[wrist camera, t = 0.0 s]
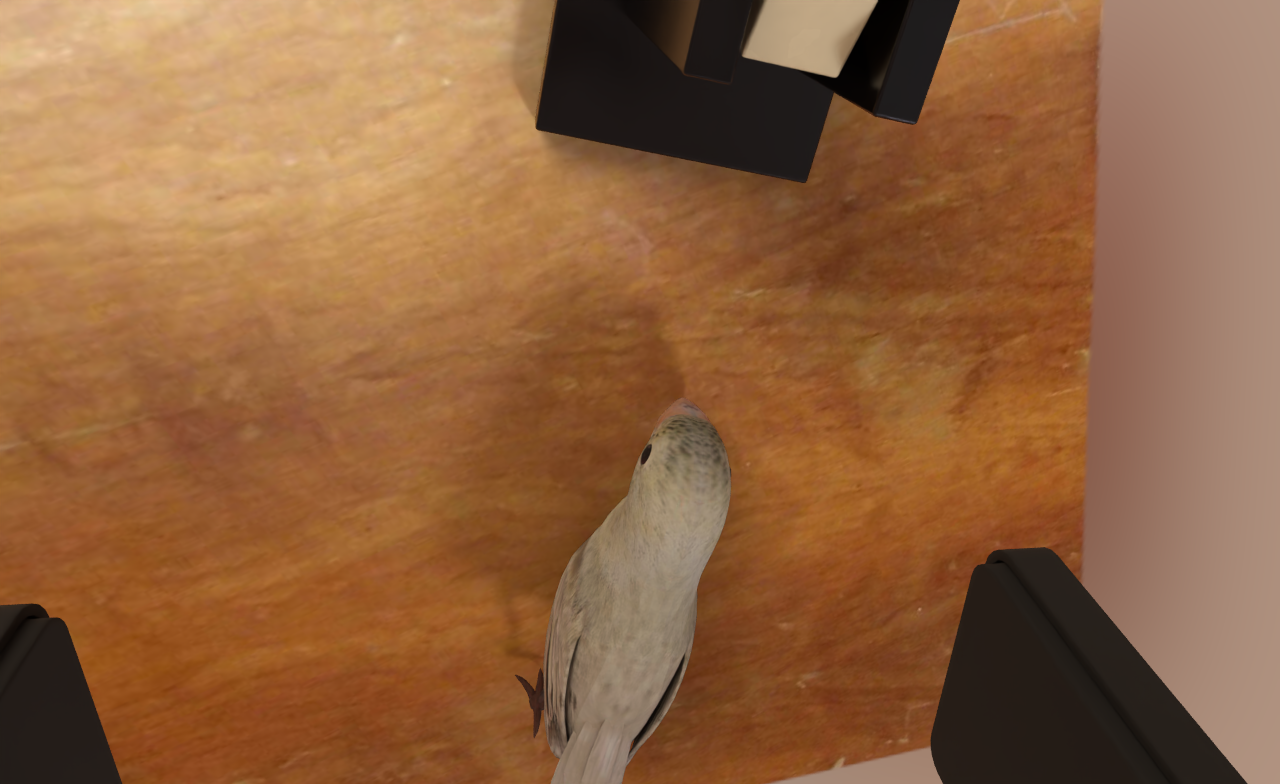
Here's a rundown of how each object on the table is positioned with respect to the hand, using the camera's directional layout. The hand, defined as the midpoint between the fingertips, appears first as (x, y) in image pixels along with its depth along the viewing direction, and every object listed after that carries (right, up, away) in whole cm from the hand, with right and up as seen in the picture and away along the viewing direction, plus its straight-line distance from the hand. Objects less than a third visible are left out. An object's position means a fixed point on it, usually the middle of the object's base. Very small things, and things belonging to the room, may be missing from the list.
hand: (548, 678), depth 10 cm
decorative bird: (0, -3, +28) cm, 28 cm away
